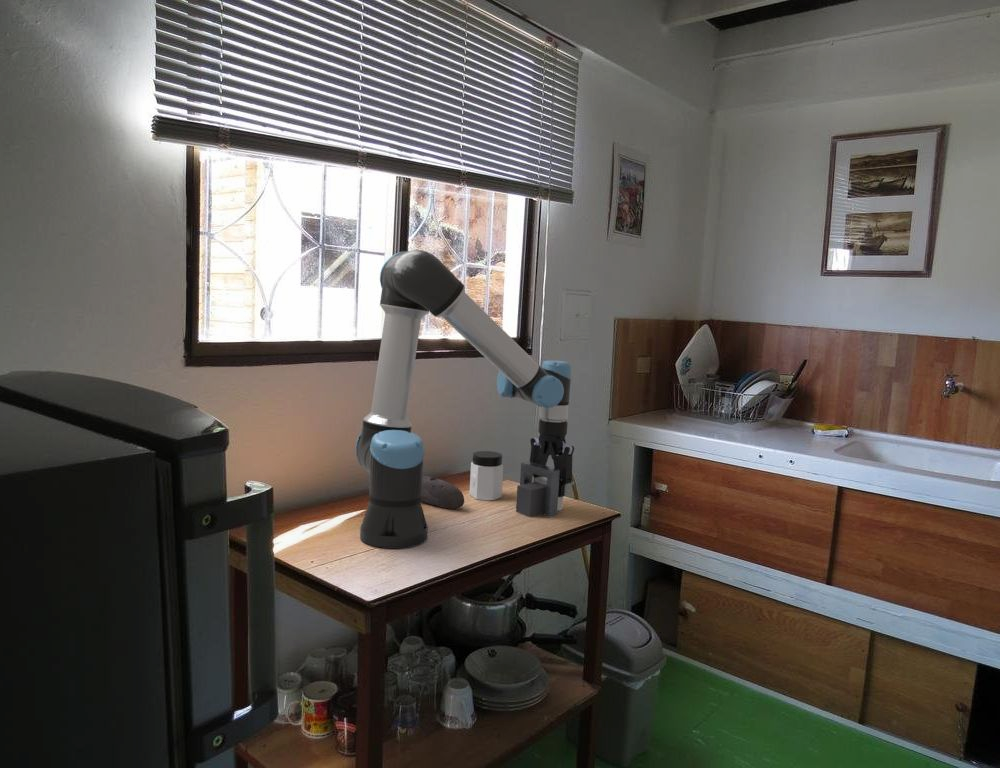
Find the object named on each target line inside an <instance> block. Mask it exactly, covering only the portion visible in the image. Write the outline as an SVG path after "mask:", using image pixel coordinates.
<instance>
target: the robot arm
mask: <svg viewBox="0 0 1000 768" xmlns="http://www.w3.org/2000/svg"><path fill="white" fill-rule="evenodd" d="M383 263H384V264H383V266H382V267H381V269H380V273H379V283H380V287H381V293H380V294H381V295H380V300H379V302H380V303H379V306H380V308H381V309H382V310H383V312H384V319H383V327H382V333H381V340H380V347H379V354H378V355H379V356H378V362H377V369H376V376H375V380H374V388H373V396H372V403H371V410H370V412H369V414H367V415H365V416H364V417H363V421H362V428H361V432H360V433H359V435H358V437H357V439H356V442H355V455H356V457H357V461H358V463H359V465H360V466H361V467H362V468H363V470H365V471H366V473H368V475H369V496H368V498H369V499H368V501H369V502H368V506H367V507H366V510H365V514H364V517H363V520H362V523H361V524H360V528H359V538H360V540H361V541H362V542H363V543H365V544H367V545H368V546H369V545H370V546H373V547H378V548H382V549H383V548H384V549H404V548H411V547H417V546H418V545H421V544H423V543H424V542H426V541H427V539H428V536H429V535H428V533H429V527H428V524H427V520H426V516H425V513H424V509H423V506H422V501H421V497H422V476H424V475H423V473H424V457H425V449H424V440H423V439H422V437H420V436H419V435H417V434H416V433H414V432H412V427H413V425H412V423H411V421H410V420H409V418H408V410H409V404H410V397H411V389H412V383H413V377H414V371H415V370H414V368H415V363H416V357H417V351H418V350H417V348H418V343H419V342H418V341H419V336H420V329H421V323H422V318H425V316H426V315H428V314H429V313H430V314H432V315H433V316H434V317H436V318H442V319H443V320H445V322H447V323H448V325H450V326H451V327H452V328H453V329H454V330H455V331H456V332H458V334H460V335H461V336H462V337H463V338H464V339H465V340H466V341H467V342H468V343H469V344H470V345H471V346H472V347H473V348H475V350H476V351H478V352H479V354H480V355H482V356H483V358H485V359H486V360H487V361H488V362H489V363H491V365H492V366H493V367H494V368H496V369H497V371H499V372H498V375H497V377H496V378H497V379H496V388H497V392H498V394H499V396H501V397H502V398H510V399H513V398H516V399H517V398H518V399H522V400H524V401H527V402H529V403H531V404H534V405H536V406H538V407H539V414H538V415H539V418H540V419H539V420H538V433H539V436H538V437H532V438H530V439H529V440H530V455H529V461H530V462H534V463H537V464H541V465H544V466H547V463H548V460H549V458H550V457H549V456H551V459H552V461H553V468H555V469H559V470H560V476H559V491H558V506H557V509H558V508H562V509H563V506H562V497H563V498H564V497H565V491H566V485H568V484H572V482H573V454H574V453H575V452H574V451H575V446H573V445H570V444H567V441H566V436H567V433H568V421H567V420H568V419H569V407H570V393H571V392H570V391H571V381H572V367H571V364H570V362H567V361H563V360H555V359H554V360H553V359H552V360H551V359H550V360H549V359H548V360H544V361H543V362H542V364H541V365H542V366H540V365H539V364H538V363H537V362H536V361H535V360H534V358H532V356H530V355H529V353H527V352H526V350H524V349H523V348H522V347H521V346H520V345H519V344H518V343H517V342H516V341H515V340H514V339H513V337H511V336H510V335H509V334H508V333H507V332H506V331H505V330H504V329H503V328H502V327H501V326H500V325H499V324H498V323H497V321H496V322H495V320H494V319H493V318H492V317H491V316H489V315H488V313H487V312H486V311H485V310H483V309H482V308H481V306H480V305H479V304H478V303H476V301H474V300H473V299H472V297H471V296H469V294H467V293H466V286H465V284H464V283H462V281H461V280H460V279H458V277H457V276H455V274H454V273H453V272H452V271H451V270H450V269H449V268H448V267H447V265H445V264H444V263H443V262H442V261H441V259H439V258H438V257H436V256H435V255H434V254H432V253H430V252H429V251H426V250H422V249H414V250H410V251H409V250H408V251H407V250H406V251H405V250H403V251H400V252H397V253H394V254H393V255H391V256H390V257H389V258H388V259H387V260H386V261H385V262H383ZM536 477H542V476H540V475H536V474H533V473H532V478H533V482H535V478H536ZM561 479H562V480H561Z"/></svg>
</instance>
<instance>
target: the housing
mask: <svg viewBox="0 0 1000 768" xmlns="http://www.w3.org/2000/svg"><path fill="white" fill-rule="evenodd" d="M532 473H533V474H536V475H540V476H543V477H546V478H547V489H546V504H545V513H544V516H545V517H547V518H551V517H555V516H557V515H558V511H557V506H558V491H559V476H560V470H559V469H555V468H554V467H551V466H547V465H546V466H544V465H541V464H537V463H534V462H530V460H528V461H522V462H520V474H519V475H520V477H519V485H523V484H528V483H533V475H532Z"/></svg>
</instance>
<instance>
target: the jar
mask: <svg viewBox="0 0 1000 768" xmlns="http://www.w3.org/2000/svg"><path fill="white" fill-rule="evenodd" d="M469 477H470V479H469V480H470V481H469V496H470V495H471V496H470V497H472V498H474V499H475V500H479V501H491V500H492V501H495V500H497V499H500V498H502V496H503V493H502V492H503V480H504V479H503V478H504V464H503V454H502V453H501V452H497V451H489V450H481V451H475V452H473V453H472V461H471V462H470V475H469Z"/></svg>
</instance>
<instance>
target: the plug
mask: <svg viewBox="0 0 1000 768" xmlns="http://www.w3.org/2000/svg"><path fill="white" fill-rule="evenodd" d="M561 480H562V479H561ZM546 489H547V478H546V477H543V476H542V477H536V478H535V482H534V481H532V483H528V484H523V485H520V484H518V485H517V489H516V504H515V505H516V506H515V513H519V514H521V515H523V516H526V517H529V518H530V517H535V516H538V515H542V514H545V504H546ZM563 502H564V497H562V508H558V509H557V512H559V511H561V510H563ZM558 510H559V511H558Z"/></svg>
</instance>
